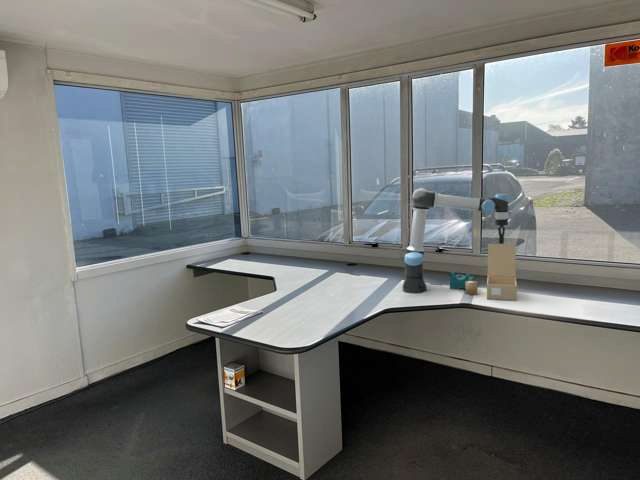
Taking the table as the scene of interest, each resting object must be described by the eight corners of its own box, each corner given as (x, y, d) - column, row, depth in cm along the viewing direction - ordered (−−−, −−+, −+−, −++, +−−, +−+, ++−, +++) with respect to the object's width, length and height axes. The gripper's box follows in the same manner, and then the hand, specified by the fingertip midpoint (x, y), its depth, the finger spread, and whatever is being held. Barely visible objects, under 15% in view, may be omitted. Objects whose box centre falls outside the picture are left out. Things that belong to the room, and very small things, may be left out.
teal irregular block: (467, 291, 282) (468, 275, 280) (449, 288, 288) (451, 272, 285) (472, 284, 298) (474, 268, 296) (456, 281, 303) (457, 266, 301)
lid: (487, 243, 282) (487, 243, 283) (487, 275, 279) (487, 275, 280) (515, 243, 276) (515, 244, 277) (515, 276, 273) (515, 276, 274)
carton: (486, 299, 262) (486, 284, 261) (487, 289, 280) (487, 275, 279) (516, 300, 256) (517, 285, 255) (515, 291, 275) (515, 276, 273)
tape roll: (465, 294, 273) (465, 283, 272) (465, 291, 280) (465, 280, 279) (477, 294, 271) (477, 283, 270) (477, 291, 278) (477, 280, 277)
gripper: (508, 219, 276) (507, 257, 280) (507, 217, 288) (507, 253, 292) (495, 220, 279) (495, 257, 283) (495, 217, 291) (494, 253, 295)
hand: (501, 255), depth 287 cm, fingers closed
